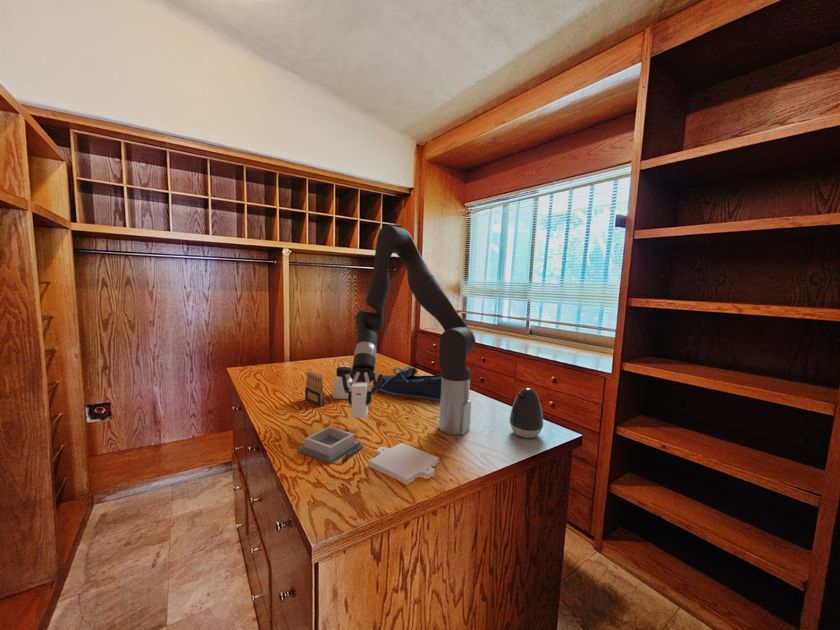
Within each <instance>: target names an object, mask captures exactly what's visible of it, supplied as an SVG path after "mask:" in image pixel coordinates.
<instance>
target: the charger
mask: <svg viewBox="0 0 840 630" xmlns="http://www.w3.org/2000/svg"><path fill="white" fill-rule="evenodd" d="M351 387H352V405H351V418H360V419H361V418H365V419H366V418H367V415H368V413H369V405H368V406H366V396H367V392H368V389H367V387H368V383H366V382H356V383H353V385H352V386H351Z"/></svg>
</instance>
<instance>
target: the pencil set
mask: <svg viewBox="0 0 840 630" xmlns="http://www.w3.org/2000/svg"><path fill="white" fill-rule="evenodd" d="M323 382H324V381H323V375H322V374H320V373H317V372H315V371H312V370H310V369H308V370H307V372H306V381H305V383H306V384H305V387H304V389H305V394H304V400H305V401H306V400H307V401H306V402H308V401H309V402H308V403H310V402H311V404H312V403H313V404H312V405H314V404H315V406H316V405H317V407H318V406H319V408H322V407H325V392H324V383H323Z"/></svg>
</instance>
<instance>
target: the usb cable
mask: <svg viewBox="0 0 840 630" xmlns="http://www.w3.org/2000/svg"><path fill="white" fill-rule="evenodd" d="M363 448H364V445H363V444H360V446H358V447H357V448H355V449H354V450H352V451H351V452H349V453H347V454H346V455H344V456H343V457H342V461H343V462H346V461H347V460H348V459H349V458H350V457H352V456H353V455H355V454H356V453H357V452H358V451H360V450H362V449H363Z"/></svg>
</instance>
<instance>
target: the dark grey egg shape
mask: <svg viewBox="0 0 840 630" xmlns="http://www.w3.org/2000/svg"><path fill="white" fill-rule="evenodd" d="M509 424H510V427H511V430H512V431H513V432H514V434H515V435H517V436H519V437H520V436H521V438H523V437H525V439H532V438H536V437H537V436H538V435H539V434H540V433H541V432H542V430H543V427H544V414H543V410H542V405H541V402H540V398H539V396H538V394H537V392H536V391H535V390H534V389H533V388H531V387H524V388H522V389H520V391H519V392H518V393H517V395H516V397H515V399H514V401H513V404H512V407H511V410H510V415H509Z"/></svg>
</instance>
